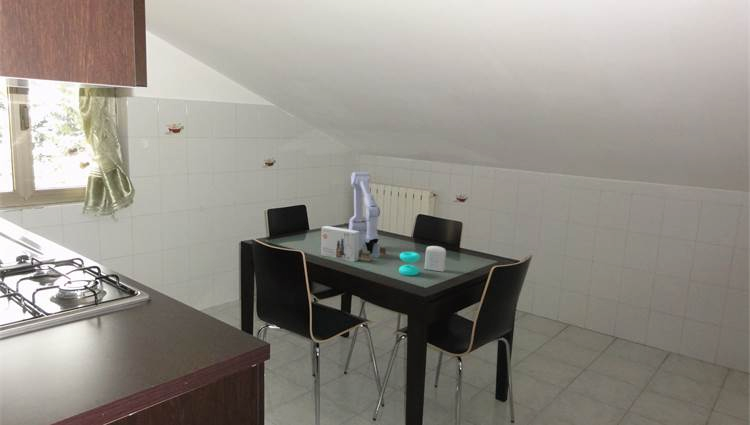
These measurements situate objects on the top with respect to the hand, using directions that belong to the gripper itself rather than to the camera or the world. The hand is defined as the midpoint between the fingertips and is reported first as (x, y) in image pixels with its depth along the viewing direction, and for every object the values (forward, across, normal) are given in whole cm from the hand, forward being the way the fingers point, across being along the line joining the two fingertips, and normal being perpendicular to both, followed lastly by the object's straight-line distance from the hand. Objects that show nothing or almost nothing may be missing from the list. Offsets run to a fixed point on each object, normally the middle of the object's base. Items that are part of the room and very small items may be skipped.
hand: (371, 252), depth 293 cm
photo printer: (+2, -9, -38) cm, 39 cm away
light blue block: (+2, 0, 0) cm, 2 cm away
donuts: (+2, -21, -28) cm, 35 cm away
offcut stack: (+2, -8, 0) cm, 8 cm away
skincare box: (+2, -11, +14) cm, 18 cm away
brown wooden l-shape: (+2, +2, +1) cm, 3 cm away
